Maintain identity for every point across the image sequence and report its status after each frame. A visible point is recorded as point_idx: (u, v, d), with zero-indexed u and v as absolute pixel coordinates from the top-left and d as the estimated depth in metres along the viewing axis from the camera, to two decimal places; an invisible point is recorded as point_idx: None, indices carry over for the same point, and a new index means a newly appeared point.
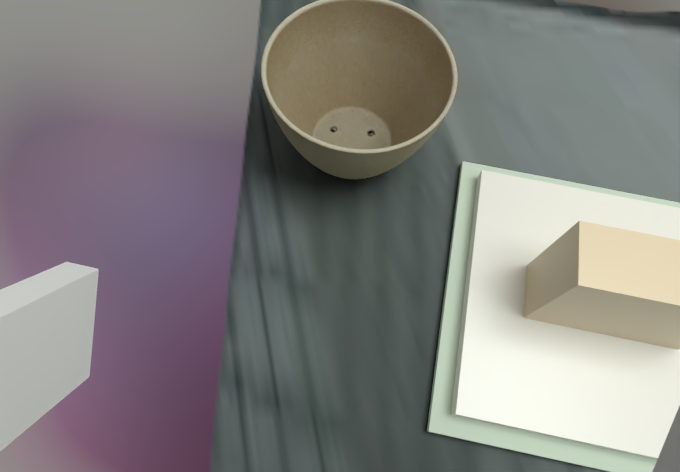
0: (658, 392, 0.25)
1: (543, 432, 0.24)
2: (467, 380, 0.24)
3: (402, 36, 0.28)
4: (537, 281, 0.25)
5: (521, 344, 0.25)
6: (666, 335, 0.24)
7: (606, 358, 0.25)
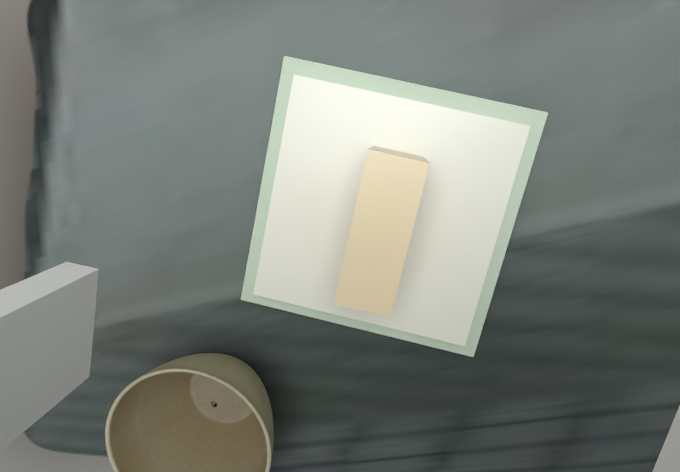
0: (458, 183, 0.29)
1: (482, 283, 0.30)
2: (440, 334, 0.31)
3: (136, 389, 0.30)
4: None
5: (413, 288, 0.31)
6: None
7: (428, 220, 0.30)
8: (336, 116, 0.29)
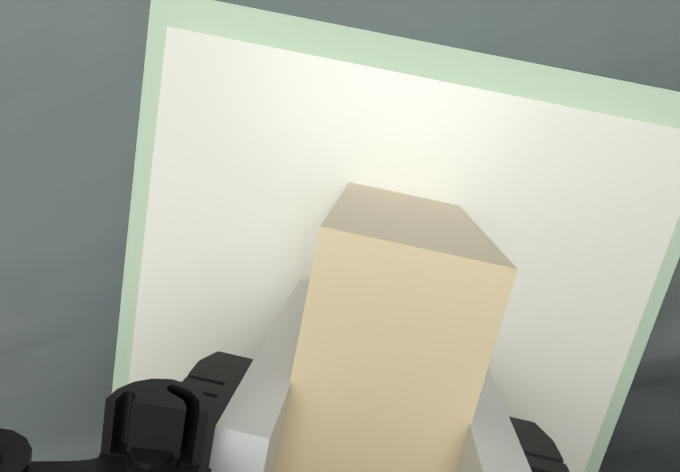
0: (537, 262, 0.13)
1: (585, 464, 0.14)
2: None
3: None
4: None
5: None
6: None
7: None
8: (266, 119, 0.13)
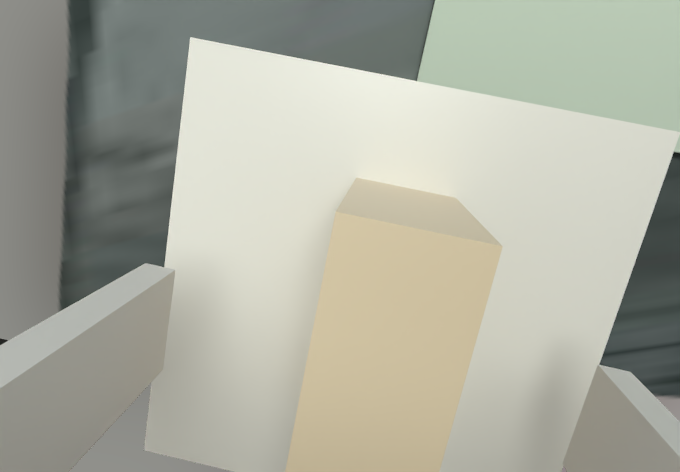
0: (527, 249, 0.15)
1: (572, 434, 0.16)
2: None
3: None
4: None
5: None
6: None
7: None
8: (280, 121, 0.14)
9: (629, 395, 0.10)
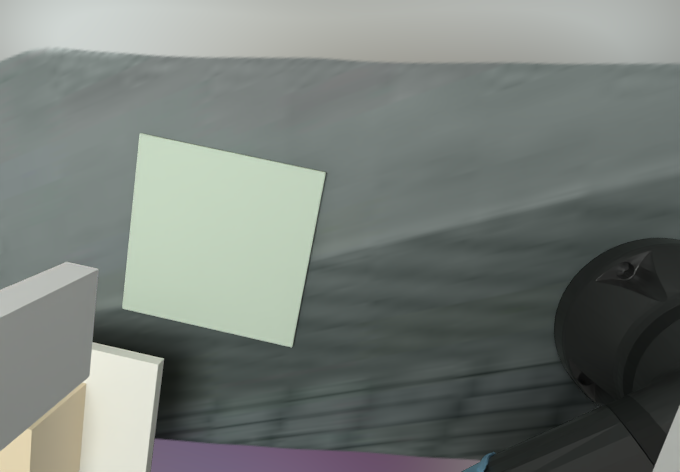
0: (114, 402, 0.38)
1: None
2: None
3: None
4: None
5: None
6: (68, 418, 0.36)
7: (97, 427, 0.39)
8: None
9: None
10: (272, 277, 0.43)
